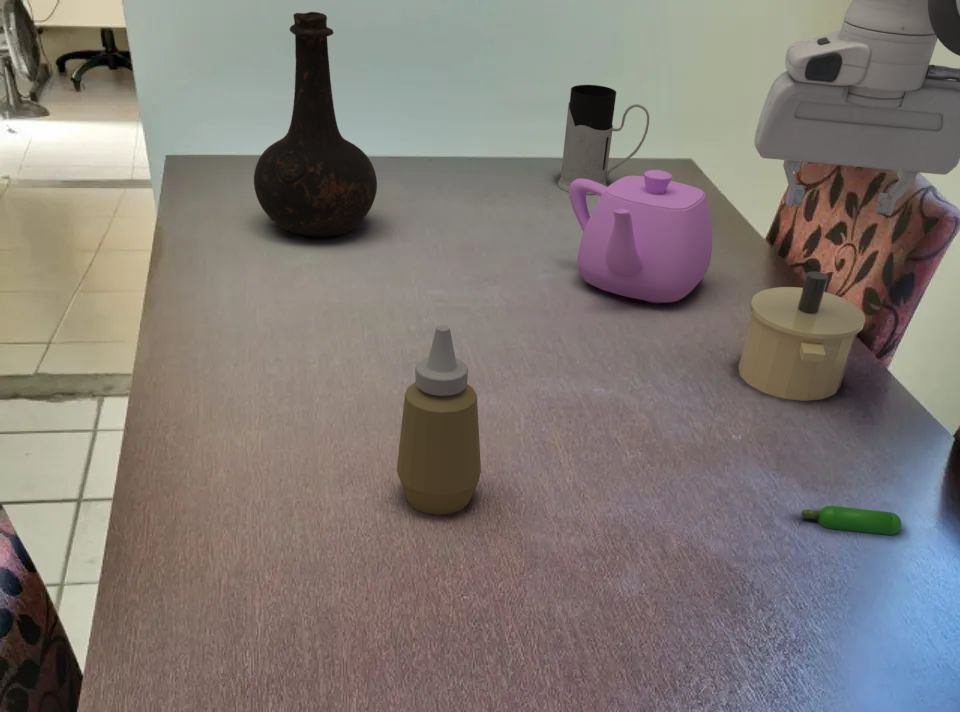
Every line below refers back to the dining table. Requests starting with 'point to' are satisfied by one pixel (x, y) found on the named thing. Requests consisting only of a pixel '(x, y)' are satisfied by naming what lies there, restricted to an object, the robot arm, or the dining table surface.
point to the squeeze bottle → (439, 433)
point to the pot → (793, 363)
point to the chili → (856, 520)
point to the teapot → (643, 236)
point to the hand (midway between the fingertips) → (837, 209)
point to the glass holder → (590, 135)
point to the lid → (808, 310)
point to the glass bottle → (314, 151)
